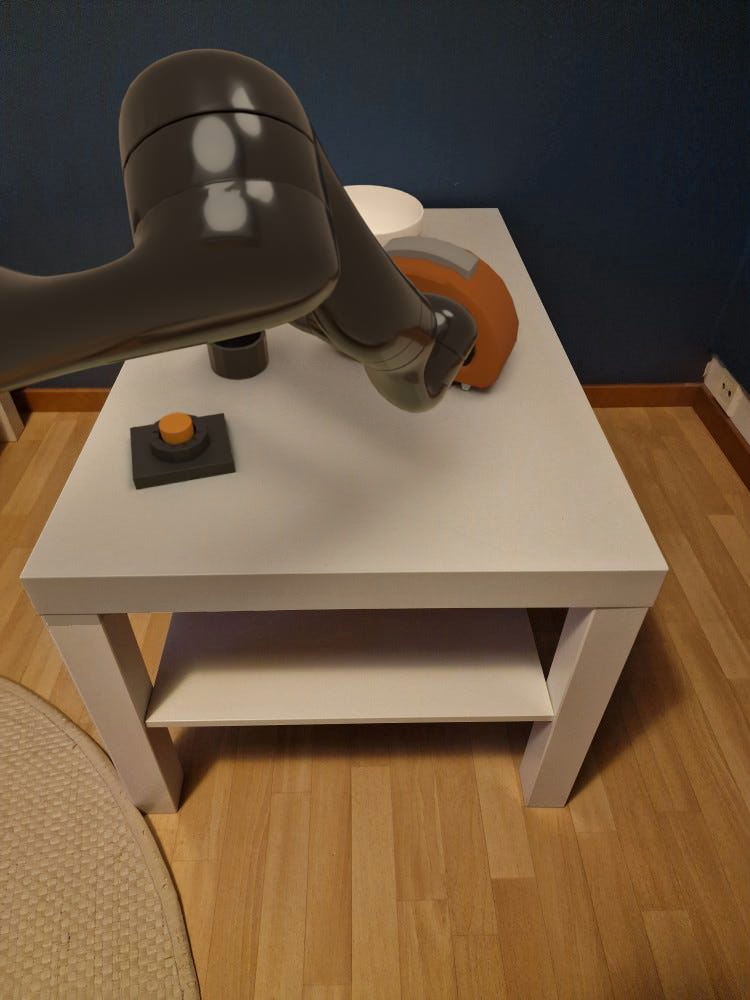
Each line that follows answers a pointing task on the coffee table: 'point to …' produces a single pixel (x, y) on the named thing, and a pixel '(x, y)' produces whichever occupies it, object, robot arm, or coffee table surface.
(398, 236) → the bowl
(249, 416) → the coffee table surface
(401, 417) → the coffee table surface
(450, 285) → the alarm clock
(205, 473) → the push button panel
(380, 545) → the coffee table surface
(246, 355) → the pod chamber
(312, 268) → the robot arm
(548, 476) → the coffee table surface
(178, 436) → the button
